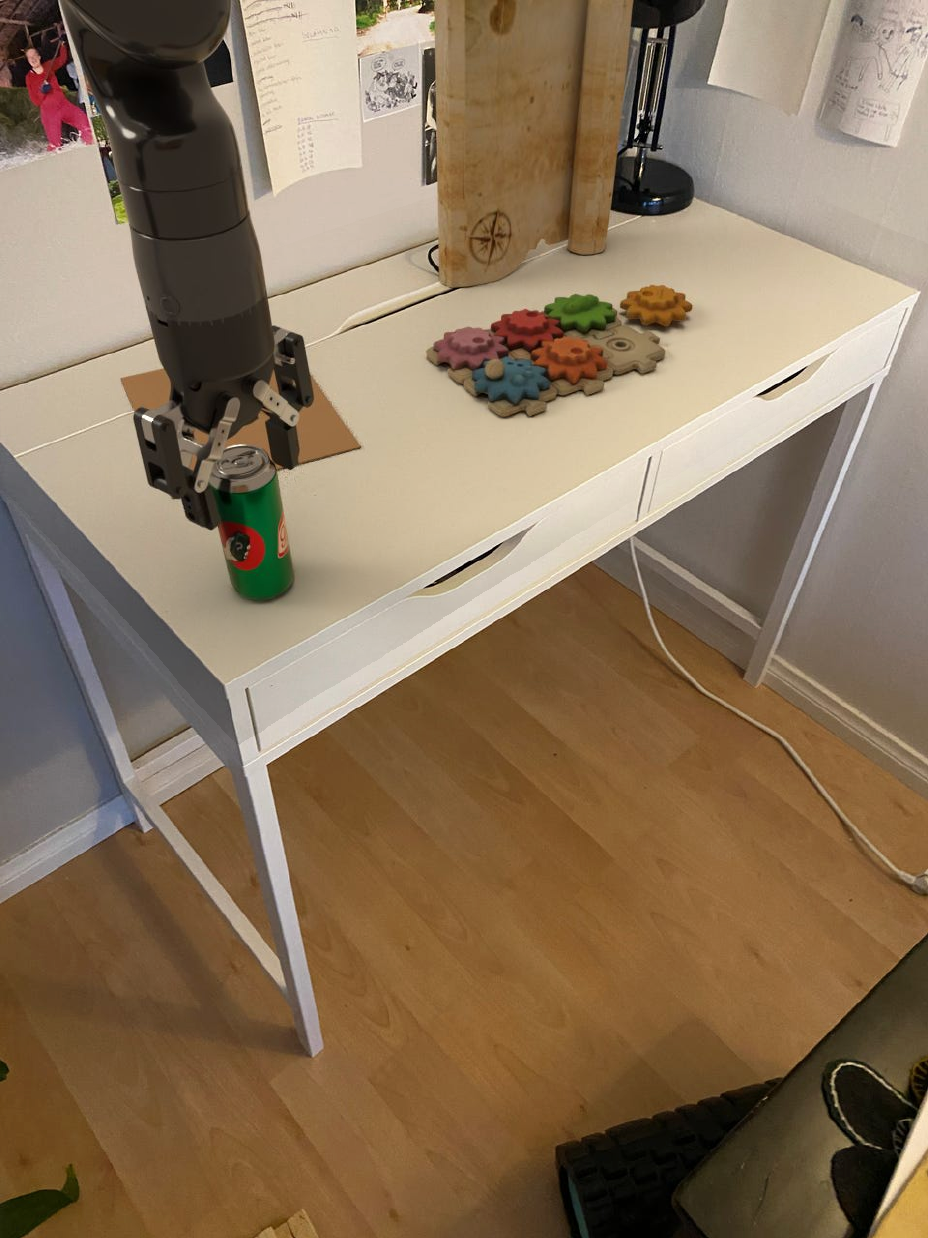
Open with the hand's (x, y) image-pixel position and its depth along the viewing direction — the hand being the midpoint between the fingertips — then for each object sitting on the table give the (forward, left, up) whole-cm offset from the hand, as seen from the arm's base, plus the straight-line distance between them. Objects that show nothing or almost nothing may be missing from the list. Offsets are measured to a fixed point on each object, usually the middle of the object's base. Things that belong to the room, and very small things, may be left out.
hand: (247, 493), depth 71 cm
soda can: (0, 0, -9) cm, 9 cm away
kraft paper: (+5, +25, -9) cm, 27 cm away
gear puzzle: (+42, +21, -9) cm, 48 cm away
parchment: (+46, +42, -9) cm, 63 cm away
